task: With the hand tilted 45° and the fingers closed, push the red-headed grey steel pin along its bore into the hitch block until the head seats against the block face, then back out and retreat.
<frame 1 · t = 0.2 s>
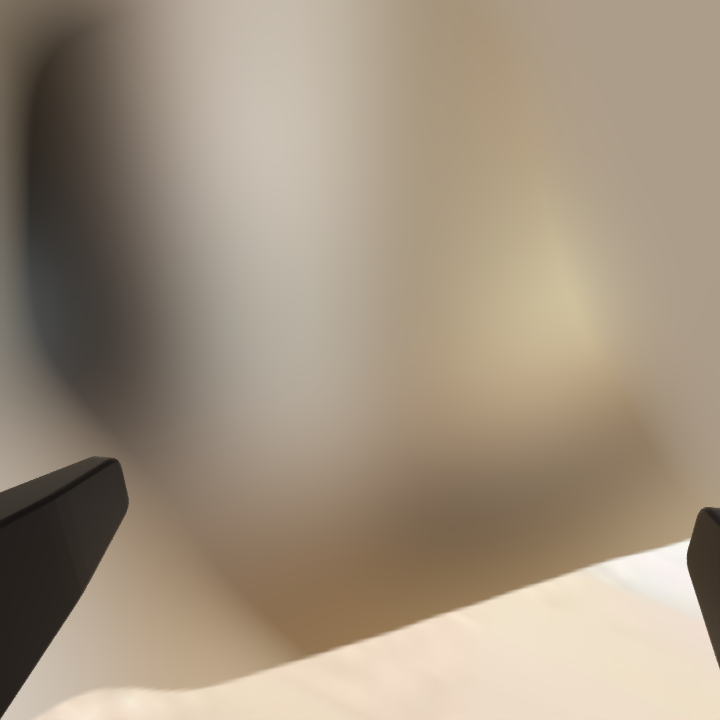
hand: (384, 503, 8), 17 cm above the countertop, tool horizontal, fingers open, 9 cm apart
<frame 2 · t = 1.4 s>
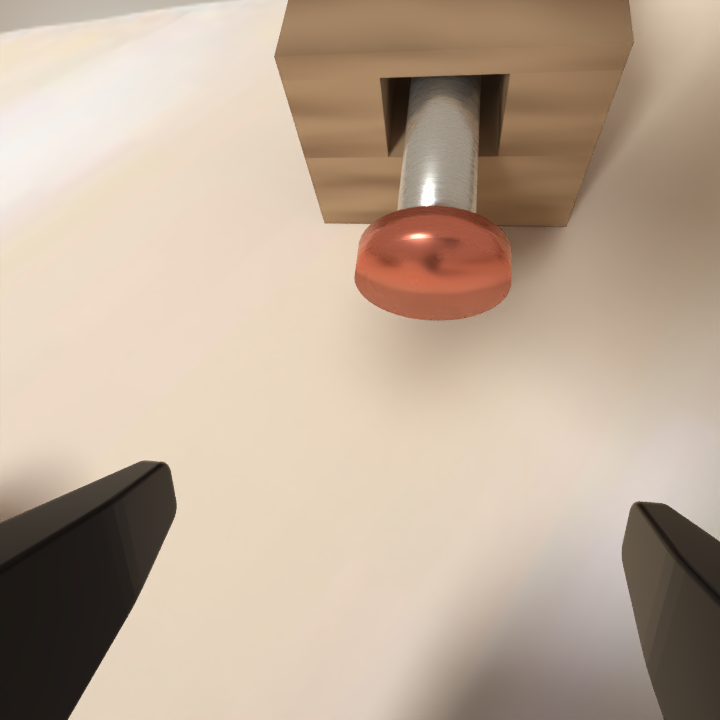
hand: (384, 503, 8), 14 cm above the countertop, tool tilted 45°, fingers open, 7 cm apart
hitch block: (445, 162, 28), on the countertop
steel pin: (443, 109, 21), point 7 cm above the countertop, slide at 0.0 cm
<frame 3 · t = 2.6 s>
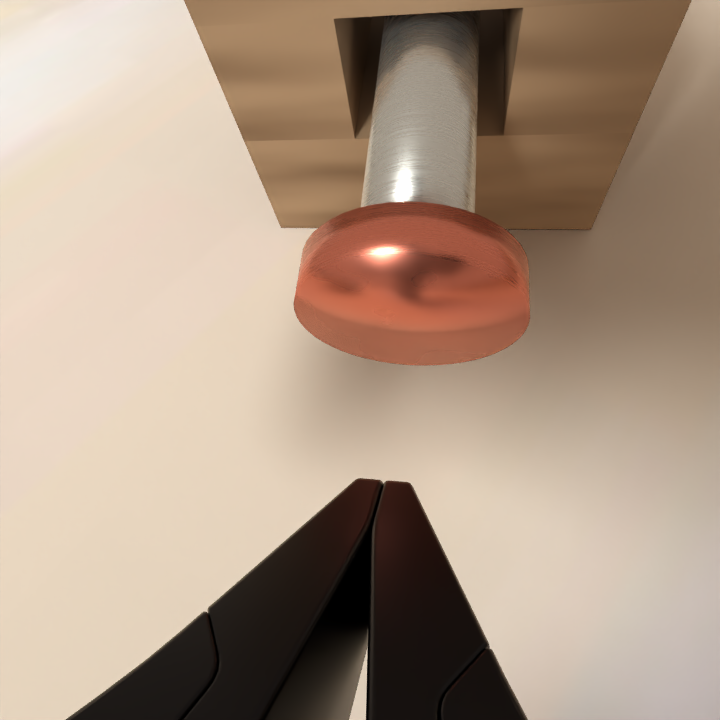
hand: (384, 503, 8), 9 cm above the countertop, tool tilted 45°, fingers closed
hitch block: (433, 149, 22), on the countertop
steel pin: (427, 69, 15), point 6 cm above the countertop, slide at 0.0 cm
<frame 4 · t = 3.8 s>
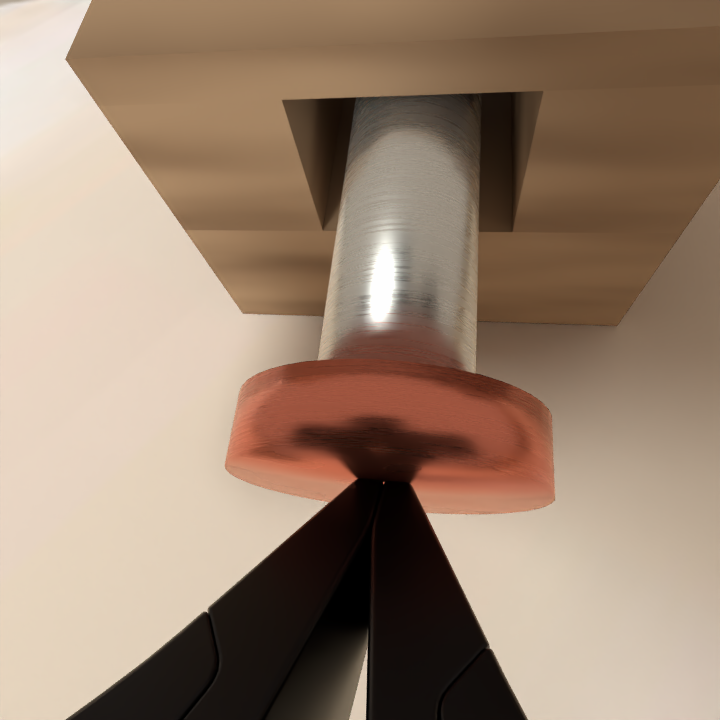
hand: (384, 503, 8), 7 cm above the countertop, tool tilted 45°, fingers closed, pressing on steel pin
hitch block: (426, 218, 19), on the countertop
steel pin: (416, 123, 12), point 6 cm above the countertop, slide at 0.9 cm, touching gripper
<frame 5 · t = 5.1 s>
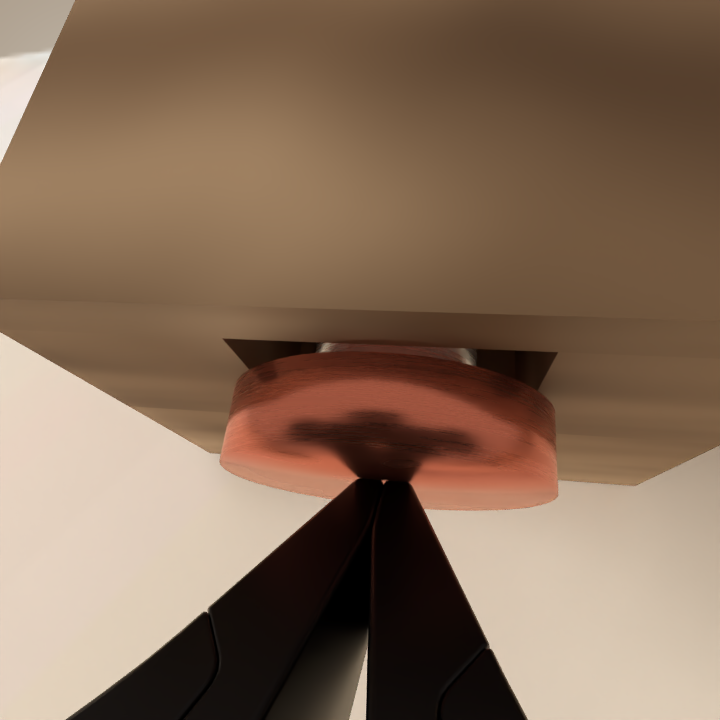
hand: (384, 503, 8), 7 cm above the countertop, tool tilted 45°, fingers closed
hitch block: (417, 340, 16), on the countertop
steel pin: (415, 112, 11), point 7 cm above the countertop, slide at 5.8 cm
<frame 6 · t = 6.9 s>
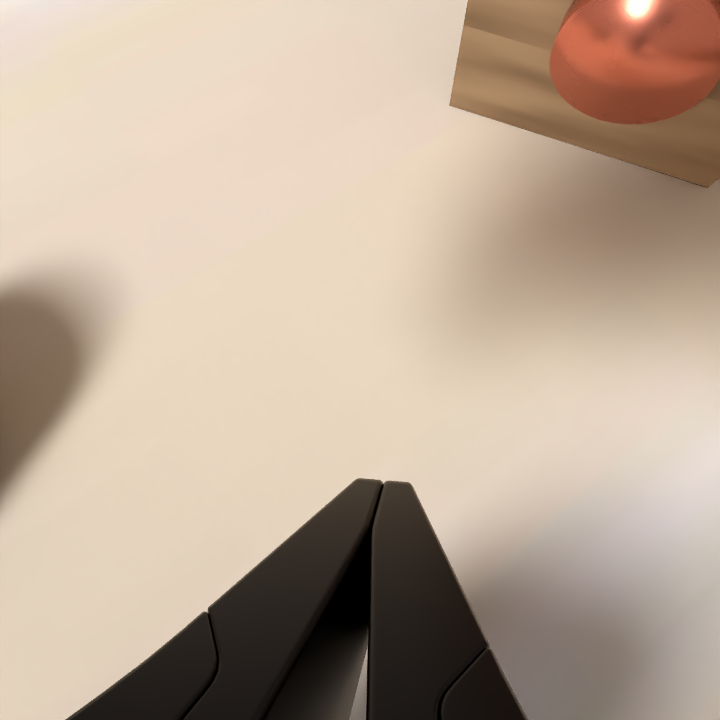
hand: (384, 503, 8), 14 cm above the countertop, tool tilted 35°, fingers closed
hitch block: (601, 71, 24), on the countertop
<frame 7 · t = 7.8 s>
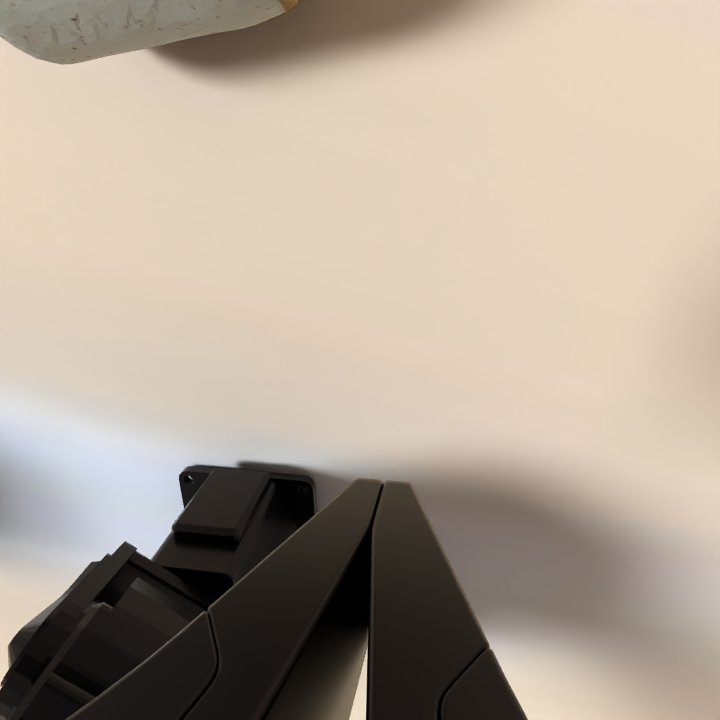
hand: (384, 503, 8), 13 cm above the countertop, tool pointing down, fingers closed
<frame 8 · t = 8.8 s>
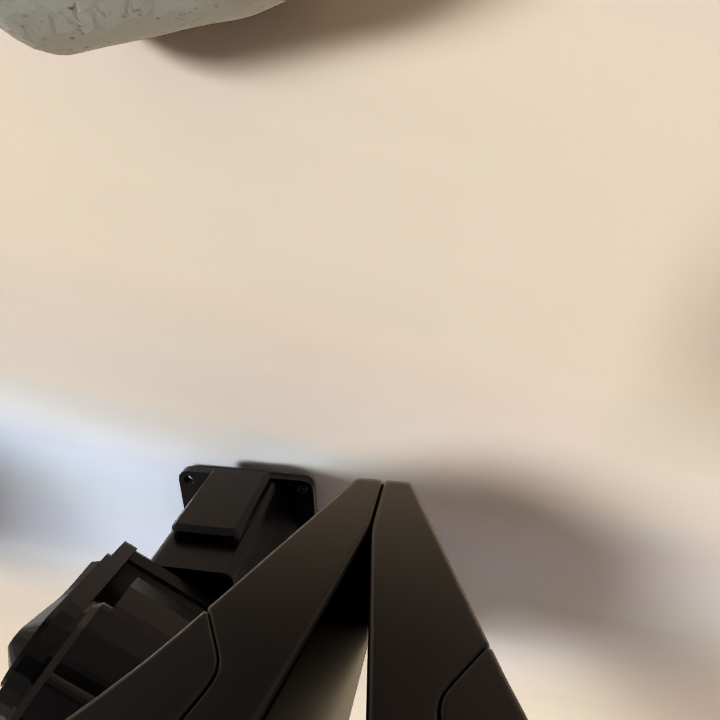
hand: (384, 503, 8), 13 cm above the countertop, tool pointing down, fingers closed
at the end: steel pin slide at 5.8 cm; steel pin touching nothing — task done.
